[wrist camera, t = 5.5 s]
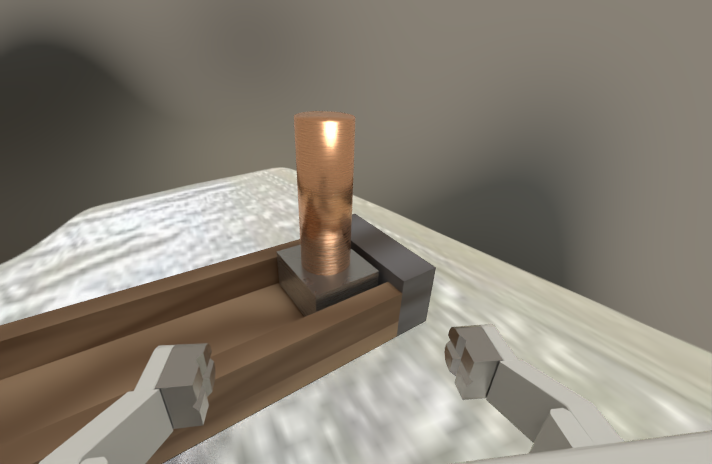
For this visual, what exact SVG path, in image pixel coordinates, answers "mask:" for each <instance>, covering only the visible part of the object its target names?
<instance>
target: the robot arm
mask: <svg viewBox="0 0 712 464" xmlns="http://www.w3.org/2000/svg"><path fill="white" fill-rule="evenodd" d="M448 336H449V338H450V341H449V342H448V343H447V344H446V347H445V360H446V364H447V367H448V369H449V371H450V372H451V373H452V374H453V375H455V376H456V379H455V385H456V387H457V389H458V391H459V393H460V396H461V398H462V400H469V399H483V398H486V400H487V401H488V402H489V403H490V404H491V405H493V406H494V407H495V408H496V409H497V410H498V411H499V412H500V413H501V414H502V415H503V416H505V417H506V418H507V419H508V420H509V421H510V422H511V423H512V424H513V425H514V426H515V427H517V428H518V429H519V430H520V431H521V432H522V433H523V434H524V435H525V436H526V437H527V438H529V439H530V440H531V441H532V442H533V443H534V444H533V446H532V448H531V450H530V452H529V454H522V455H514V456H506V457H498V458H490V459H482V460H474V461H466V462H458V463H450V464H712V430H711V431H703V432H696V433H688V434H680V435H672V436H664V437H656V438H648V439H640V440H632V441H624V440H623V439H622V438H621V437H620V435H619V434H618V433H617V432H616V430H615V429H614V428H613V427H612V425H611V424H610V423H609V422H608V421H607V419H606V418H605V417H604V416H603V414H602V413H601V412H600V411H599V410H598V408H597V407H596V406H595V405H594V404H593V403H592V402H590V401H589V400H587V399H585V398H584V397H582V396H580V395H579V394H577V393H576V392H574V391H572V390H571V389H569V388H568V387H566V386H564V385H563V384H561V383H560V382H558V381H556V380H555V379H553V378H552V377H550V376H548V375H547V374H545V373H544V372H542V371H540V370H539V369H537V368H536V367H534V366H532V365H531V364H529V363H528V362H526V361H524V360H523V359H520V360H519V359H518V358H517V357H516V355H515V354H514V352H513V351H512V350H511V348H510V347H509V345H508V344H507V342H506V341H505V340H504V338H503V337H502V335H501V334H500V332H499V331H498V330H497V328H496V327H495V326H494V325H493V324H486V325H472V326H459V327H451V329H450V330H449V334H448ZM211 353H212V350H211V346H210V344H209V343H201V344H177V345H160V346H158V347H157V348H156V349H155V350H154V351H153V353H152V355H151V357H150V359H149V361H148V363H147V365H146V367H145V369H144V371H143V373H142V375H141V377H140V379H139V381H138V383H137V385H136V387H135V389H134V391H130V392H127V393H126V394H125V395H123V396H122V397H121V398H120V399H118V400H117V401H116V402H115V403H113V404H112V405H111V406H109V407H108V408H107V409H106V410H104V411H103V412H102V413H101V414H99V415H98V416H97V417H96V418H94V419H93V420H92V421H91V422H89V423H88V424H87V425H86V426H84V427H83V428H82V429H81V430H79V431H78V432H77V433H76V434H74V435H73V436H72V437H71V438H69V439H68V440H67V441H65V442H64V443H63V444H62V445H60V446H59V447H58V448H57V449H55V450H54V451H53V452H52V453H50V454H49V455H48V456H47V457H45V458H44V459H43V460H42V461H40V463H39V464H146V462H147V461H148V460H149V459H150V458H151V457H152V455H153V454H154V453H155V452H156V451H157V450H158V448H159V447H160V446H161V445H162V444H163V442H164V441H165V440H166V439H167V438H168V437H169V435H170V434H171V433H172V432H173V429H178V428H186V427H194V426H202V425H204V421H205V417H206V414H207V410H208V406H209V403H208V399H207V397H208V396H209V395H210V394H211V393H212V391H213V387H214V383H215V374H216V373H215V363H214V361H213V360H212V359H210V356H211Z"/></svg>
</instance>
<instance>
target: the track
mask: <svg viewBox="0 0 712 464" xmlns="http://www.w3.org/2000/svg"><path fill="white" fill-rule="evenodd" d="M297 245H300V239H299V240H295V241H292V242H288V243H285V244H281V245H278V246H274V247H271V248H268V249H264V250H261V251H257V252H254V253H250V254H247V255H243V256H240V257H236V258H233V259H229V260H226V261H222V262H219V263H216V264H212V265H209V266H205V267H202V268H198V269H195V270H191V271H188V272H184V273H181V274H177V275H174V276H170V277H167V278H163V279H160V280H157V281H153V282H150V283H146V284H143V285H139V286H136V287H132V288H129V289H125V290H122V291H118V292H115V293H111V294H108V295H104V296H101V297H98V298H94V299H91V300H87V301H84V302H80V303H77V304H73V305H70V306H66V307H63V308H59V309H56V310H52V311H49V312H45V313H42V314H39V315H35V316H32V317H28V318H25V319H21V320H18V321H14V322H11V323H7V324H4V325H0V464H39V463H40V461H42V460H43V459H44V458H45V457H47V456H48V455H49V454H50V453H52V452H53V451H54V450H55V449H57V448H58V447H59V446H60V445H62V444H63V443H64V442H65V441H67V440H68V439H69V438H71V437H72V436H73V435H74V434H76V433H77V432H78V431H79V430H81V429H82V428H83V427H84V426H86V425H87V424H88V423H89V422H91V421H92V420H93V419H94V418H96V417H97V416H98V415H99V414H101V413H102V412H103V411H104V410H106V409H107V408H108V407H109V406H111V405H112V404H113V403H115V402H116V401H117V400H118V399H120V398H121V397H122V396H123V395H125V394H126V393H127V392H130V391H134V389H135V387H136V385H137V383H138V381H139V379H140V377H141V375H142V373H143V371H144V369H145V367H146V365H147V363H148V361H149V359H150V357H151V355H152V353H153V351H154V350H155V349H156V348H157V347H158V346H160V345H177V344H201V343H209V344H210V346H211V350H212V353H211V356H210V359H212V360H213V361H214V363H215V373H216V374H215V383H214V387H213V391H212V393H211V394H210V395H209V396H208V397H207V399H208V403H209V406H208V410H207V414H206V417H205V421H204V425H202V426H194V427H186V428H178V429H173V432H172V433H171V434H170V435H169V437H168V438H167V439H166V440H165V441H164V442H163V444H162V445H161V446H160V447H159V448H158V450H157V451H156V452H155V453H154V454H153V455H152V457H151V458H150V459H149V460H148V461H147V462H146V464H162V463H164V462H165V461H167V460H169V459H171V458H173V457H175V456H176V455H178V454H180V453H182V452H184V451H186V450H188V449H189V448H191V447H193V446H195V445H197V444H199V443H201V442H202V441H204V440H206V439H208V438H210V437H212V436H213V435H215V434H217V433H219V432H221V431H223V430H225V429H226V428H228V427H230V426H232V425H234V424H236V423H237V422H239V421H241V420H243V419H245V418H247V417H249V416H250V415H252V414H254V413H256V412H258V411H260V410H261V409H263V408H265V407H267V406H269V405H271V404H273V403H274V402H276V401H278V400H280V399H282V398H284V397H285V396H287V395H289V394H291V393H293V392H295V391H297V390H298V389H300V388H302V387H304V386H306V385H308V384H310V383H311V382H313V381H315V380H317V379H319V378H321V377H322V376H324V375H326V374H328V373H330V372H332V371H334V370H335V369H337V368H339V367H341V366H343V365H345V364H346V363H348V362H350V361H352V360H354V359H356V358H358V357H359V356H361V355H363V354H365V353H367V352H369V351H370V350H372V349H374V348H376V347H378V346H380V345H382V344H383V343H385V342H387V341H389V340H391V339H393V338H394V337H396V336H398V335H400V334H402V333H404V332H406V331H407V330H409V329H411V328H413V327H415V326H417V325H419V324H420V323H422V322H424V321H426V317H427V312H428V307H429V301H430V296H431V291H432V285H433V280H434V274H435V269H436V267H434V266H433V265H431V264H430V263H428V262H427V261H425V260H424V259H422V258H421V257H419V256H418V255H416V254H415V253H413V252H412V251H410V250H409V249H407V248H406V247H404V246H403V245H401V244H400V243H398V242H397V241H395V240H394V239H392V238H391V237H389V236H388V235H386V234H385V233H383V232H382V231H380V230H379V229H377V228H376V227H374V226H373V225H371V224H370V223H368V222H367V221H365V220H364V219H362V218H361V217H359V216H358V215H356V214H352V225H351V249H352V250H353V251H355V252H356V253H357V254H358V255H360V256H361V257H362V258H363V259H365V260H366V261H367V262H368V263H370V264H371V265H372V266H373V267H375V268H376V269H377V270H378V271H379V276H378V286H377V287H374V288H372V289H370V290H367V291H365V292H363V293H360V294H358V295H356V296H353V297H351V298H348V299H346V300H344V301H341V302H339V303H337V304H334V305H332V306H330V307H327V308H325V309H323V310H320V311H318V312H315V313H313V314H311V315H308V316H306V317H305V316H304V315H303V314H302V312H301V311H300V310H299V308H298V307H297V306H296V305H295V303H294V302H293V301H292V299H291V298H290V297H289V296H288V294H287V293H286V292H285V290H284V289H283V288H282V286H281V285H280V284H279V274H278V263H277V251H280V250H284V249H287V248H290V247H294V246H297Z"/></svg>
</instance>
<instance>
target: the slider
mask: <svg viewBox="0 0 712 464" xmlns="http://www.w3.org/2000/svg"><path fill="white" fill-rule="evenodd" d="M294 125H295V142H296V143H295V144H296V165H297V185H298V205H299V225H300V245H297V246H294V247H290V248H287V249H284V250H280V251H277V263H278V274H279V284H280V285H281V286H282V288H283V289H284V290H285V292H286V293H287V294H288V296H289V297H290V298H291V299H292V301H293V302H294V303H295V305H296V306H297V307H298V308H299V310H300V311H301V312H302V314H303V315H304V316H305V317H306V316H308V315H311V314H313V313H315V312H318V311H320V310H323V309H325V308H327V307H330V306H332V305H334V304H337V303H339V302H341V301H344V300H346V299H348V298H351V297H353V296H356V295H358V294H360V293H363V292H365V291H367V290H370V289H372V288H374V287H377V286H378V276H379V271H378V270H377V269H376V268H375V267H373V266H372V265H371V264H370V263H368V262H367V261H366V260H365V259H363V258H362V257H361V256H360V255H358V254H357V253H356V252H355V251H353V250H352V249H351V225H352V197H353V168H354V138H355V116H353V115H350V114H346V113H340V112H329V111H312V112H303V113H298V114H296V115H294Z"/></svg>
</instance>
